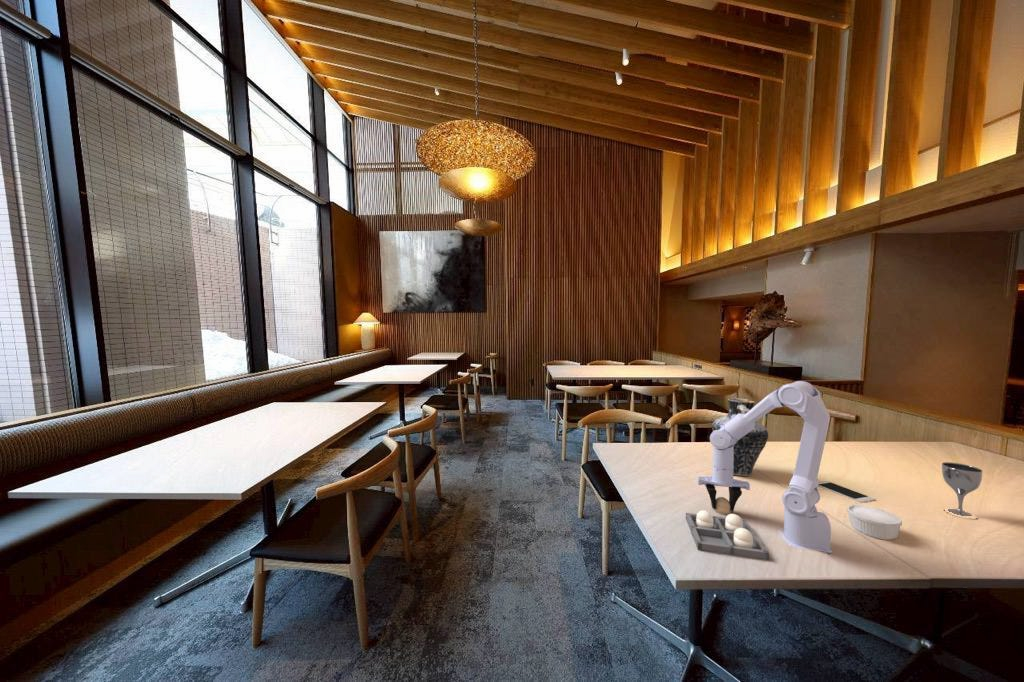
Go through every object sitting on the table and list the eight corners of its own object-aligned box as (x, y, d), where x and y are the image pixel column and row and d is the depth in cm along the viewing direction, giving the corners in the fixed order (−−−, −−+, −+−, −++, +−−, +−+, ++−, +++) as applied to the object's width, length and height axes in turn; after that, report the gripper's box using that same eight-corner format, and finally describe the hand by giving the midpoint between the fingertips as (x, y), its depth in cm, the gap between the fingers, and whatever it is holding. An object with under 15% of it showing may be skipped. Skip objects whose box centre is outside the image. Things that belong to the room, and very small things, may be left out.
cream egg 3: (749, 543, 97) (749, 525, 97) (755, 553, 93) (756, 534, 93) (731, 541, 98) (731, 523, 98) (736, 550, 94) (736, 532, 94)
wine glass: (935, 510, 115) (937, 464, 115) (946, 505, 118) (948, 460, 118) (974, 522, 108) (976, 473, 108) (985, 517, 111) (987, 469, 111)
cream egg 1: (711, 525, 106) (711, 508, 106) (715, 533, 102) (715, 516, 102) (694, 523, 108) (694, 506, 107) (698, 530, 103) (698, 513, 103)
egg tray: (745, 528, 106) (745, 520, 106) (768, 562, 90) (768, 553, 90) (685, 520, 110) (685, 512, 110) (697, 551, 95) (697, 542, 95)
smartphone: (861, 504, 121) (861, 501, 121) (812, 485, 136) (812, 482, 136) (876, 501, 122) (876, 498, 122) (826, 482, 137) (826, 480, 137)
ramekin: (845, 517, 112) (845, 500, 112) (897, 529, 105) (897, 512, 105) (848, 533, 103) (848, 515, 103) (905, 547, 96) (905, 528, 96)
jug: (705, 461, 159) (705, 394, 158) (753, 464, 155) (754, 395, 154) (722, 480, 139) (723, 404, 138) (779, 485, 135) (780, 405, 134)
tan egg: (727, 510, 116) (728, 495, 116) (732, 517, 112) (732, 501, 112) (712, 508, 117) (713, 493, 117) (716, 515, 113) (716, 500, 113)
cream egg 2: (740, 528, 104) (740, 511, 104) (745, 537, 100) (745, 519, 100) (723, 526, 106) (723, 509, 105) (727, 534, 101) (727, 517, 101)
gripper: (744, 464, 116) (743, 505, 116) (695, 460, 120) (694, 500, 120) (752, 472, 109) (751, 516, 110) (700, 467, 113) (699, 510, 114)
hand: (722, 508), depth 115 cm, fingers closed on tan egg, 4 cm apart
